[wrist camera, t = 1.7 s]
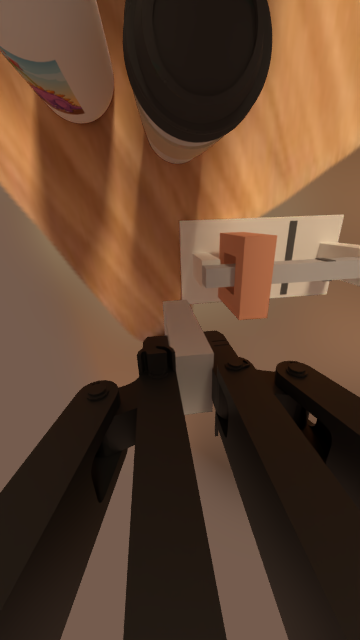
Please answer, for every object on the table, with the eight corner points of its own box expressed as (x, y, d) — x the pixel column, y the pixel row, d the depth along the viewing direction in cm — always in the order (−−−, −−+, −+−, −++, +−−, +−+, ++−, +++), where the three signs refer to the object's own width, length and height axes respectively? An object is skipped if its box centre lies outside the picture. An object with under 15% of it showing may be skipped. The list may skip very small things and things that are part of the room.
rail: (179, 220, 30) (192, 220, 20) (339, 214, 32) (416, 212, 23) (181, 302, 34) (193, 332, 25) (322, 292, 36) (381, 316, 27)
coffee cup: (191, 190, 29) (230, 162, 15) (121, 145, 26) (90, 60, 12) (231, 110, 26) (323, -15, 12) (158, 50, 23) (170, -193, 10)
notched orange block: (219, 232, 28) (245, 236, 21) (244, 231, 28) (277, 235, 21) (217, 296, 31) (239, 320, 24) (239, 295, 31) (267, 317, 24)
